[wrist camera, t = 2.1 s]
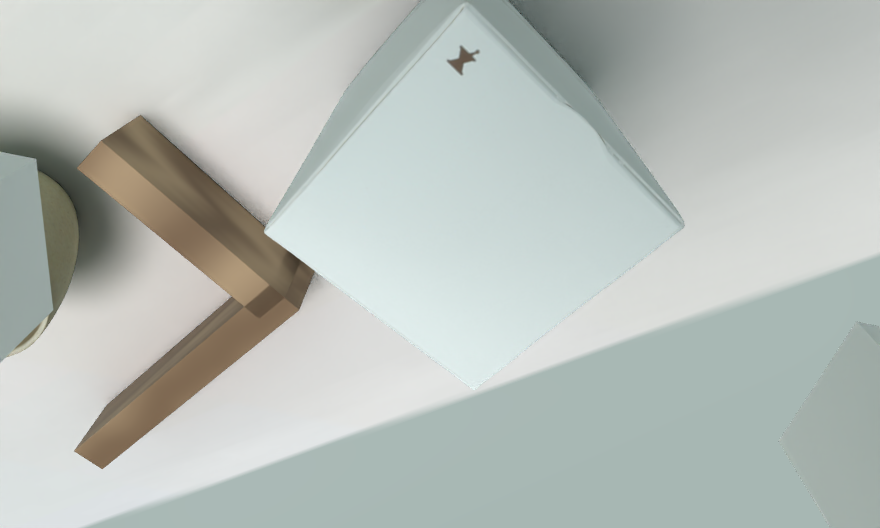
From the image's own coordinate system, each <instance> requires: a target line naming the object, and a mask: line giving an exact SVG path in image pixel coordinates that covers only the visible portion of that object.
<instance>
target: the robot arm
mask: <svg viewBox="0 0 880 528" xmlns="http://www.w3.org/2000/svg"><path fill="white" fill-rule="evenodd" d="M52 311H53V303H52V294H51V285H50V276H49V268H48V259H47V250H46V241H45V232H44V224H43V215H42V206H41V197H40V188H39V179H38V171H37V162H36V159H34V158H29V157H24V156H19V155H14V154H9V153H4V152H0V362H1V361H2V360H3V359H4V358H6V357H7V356H8V355H9V354H10V353H11V352H12V351H13V350H14V349H15V348H16V347H17V346H18V345H19V344H20V343H21V342H22V341H23V340H24V339H25V338H26V337H27V336H28V335H29V334H30V333H31V332H32V331H33V330H34V329H35V328H36V327H37V326H38V325H39V324H40V323H41V322H42V321H43V320H44V319H45V318H46V317H47V316H48V315H49V314H50V313H51V312H52ZM779 443H780V445H781V446H782V448H783V450H784V451H785V453H786V455H787V456H788V458H789V460H790V461H791V463H792V465H793V466H794V468H795V470H796V472H797V473H798V475H799V476H800V478H801V480H802V481H803V483H804V485H805V487H806V488H807V490H808V492H809V493H810V495H811V497H812V498H813V500H814V502H815V503H816V505H817V507H818V508H819V510H820V512H821V513H822V515H823V517H824V518H825V520H826V522H827V523H828V525H829V527H830V528H880V326H876V325H871V324H866V323H861V322H856V323H855V324H854V326H853V327H852V329H851V330H850V332H849V334H848V335H847V337H846V338H845V340H844V341H843V343H842V344H841V346H840V347H839V349H838V351H837V352H836V353H835V355H834V357H833V358H832V360H831V361H830V363H829V364H828V366H827V367H826V369H825V371H824V372H823V374H822V375H821V377H820V378H819V380H818V381H817V383H816V384H815V386H814V388H813V389H812V390H811V392H810V394H809V395H808V397H807V398H806V400H805V401H804V403H803V404H802V406H801V407H800V409H799V410H798V412H797V413H796V415H795V417H794V418H793V420H792V421H791V423H790V424H789V426H788V427H787V429H786V430H785V432H784V434H783V435H782V437H781V438H780V440H779Z"/></svg>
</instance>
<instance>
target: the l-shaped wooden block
mask: <svg viewBox="0 0 880 528" xmlns="http://www.w3.org/2000/svg"><path fill="white" fill-rule="evenodd" d="M77 169H78V170H79V171H81V172H82V173H83V174H84V175H85V176H87V177H88V178H89V179H90V180H92V181H93V182H94V183H95V184H96V185H98V186H99V187H100V188H101V189H102V190H104V191H105V192H106V193H107V194H108V195H110V196H111V197H112V198H113V199H115V200H116V201H117V202H118V203H119V204H121V205H122V206H123V207H124V208H125V209H127V210H128V211H129V212H130V213H131V214H133V215H134V216H135V217H136V218H138V219H139V220H140V221H141V222H142V223H144V224H145V225H146V226H147V227H148V228H150V229H151V230H152V231H153V232H155V233H156V234H157V235H158V236H159V237H161V238H162V239H163V240H164V241H165V242H167V243H168V244H169V245H170V246H171V247H173V248H174V249H175V250H176V251H178V252H179V253H180V254H181V255H182V256H184V257H185V258H186V259H187V260H188V261H190V262H191V263H192V264H193V265H195V266H196V267H197V268H198V269H199V270H201V271H202V272H203V273H204V274H205V275H207V276H208V277H209V278H210V279H211V280H213V281H214V282H215V283H216V284H218V285H219V286H220V287H221V288H222V289H224V290H225V291H226V292H227V293H228V294H230V295H231V296H232V297H231V298H230V299H229V300H228V301H227V302H225V303H224V304H223V305H222V306H221V307H220V308H218V309H217V310H216V311H215V312H214V313H213V314H212V315H210V316H209V317H208V318H207V319H206V320H205V321H203V322H202V323H201V324H200V325H199V326H198V327H196V328H195V329H194V330H193V331H192V332H191V333H190V334H188V335H187V336H186V337H185V338H184V339H183V340H181V341H180V342H179V343H178V344H177V345H176V346H175V347H173V348H172V349H171V350H170V351H169V352H168V353H166V354H165V355H164V356H163V357H162V358H161V359H160V360H158V361H157V362H156V363H155V364H154V365H153V366H151V367H150V368H149V369H148V370H147V371H146V372H145V373H143V374H142V375H141V376H140V377H139V378H138V379H136V380H135V381H134V382H133V383H132V384H131V385H130V386H128V387H127V388H126V389H125V390H124V391H123V392H121V393H120V394H119V395H118V396H117V397H116V398H115V399H113V400H112V401H111V402H110V403H109V404H108V405H106V407H105V408H104V410H103V411H102V412H101V414H100V415H99V417H98V418H97V419H96V421H95V422H94V424H93V425H92V427H91V428H90V429H89V431H88V432H87V434H86V435H85V436H84V438H83V439H82V441H81V442H80V443H79V445H78V446H77V448H76V449H75V450H74V451H75V452H76V453H78V454H79V455H81V456H82V457H84V458H86V459H87V460H89V461H90V462H92V463H93V464H95V465H97V466H98V467H100V468H101V469H103V468H104V467H106V466H107V465H108V464H109V463H111V462H112V461H113V460H114V459H116V458H117V457H118V456H119V455H120V454H122V453H123V452H124V451H125V450H127V449H128V448H129V447H130V446H132V445H133V444H134V443H135V442H137V441H138V440H139V439H140V438H142V437H143V436H144V435H145V434H146V433H148V432H149V431H150V430H151V429H153V428H154V427H155V426H156V425H158V424H159V423H160V422H161V421H163V420H164V419H165V418H166V417H167V416H169V415H170V414H171V413H172V412H174V411H175V410H176V409H177V408H179V407H180V406H181V405H182V404H184V403H185V402H186V401H187V400H189V399H190V398H191V397H192V396H193V395H195V394H196V393H197V392H198V391H200V390H201V389H202V388H203V387H205V386H206V385H207V384H208V383H210V382H211V381H212V380H213V379H214V378H216V377H217V376H218V375H219V374H221V373H222V372H223V371H224V370H226V369H227V368H228V367H229V366H231V365H232V364H233V363H234V362H236V361H237V360H238V359H239V358H240V357H242V356H243V355H244V354H245V353H247V352H248V351H249V350H250V349H252V348H253V347H254V346H255V345H257V344H258V343H259V342H260V341H261V340H263V339H264V338H265V337H266V336H268V335H269V334H270V333H271V332H273V331H274V330H275V329H276V328H278V327H279V326H280V325H281V324H283V323H284V322H285V321H286V320H287V319H289V318H290V317H291V316H292V315H294V314H295V313H296V312H297V311H299V309H300V306H301V304H302V301H303V299H304V296H305V294H306V291H307V289H308V286H309V284H310V281H311V279H312V276H313V274H314V270H312V269H311V268H310V267H309V266H308V265H306V264H305V263H304V262H302V261H301V260H300V259H298V258H297V257H296V256H295V255H293V254H292V253H291V252H289V251H288V250H286V249H285V248H284V247H282V246H281V245H280V244H278V243H277V242H275V241H274V240H273V239H271V238H270V237H269V236H267V235H266V234H264V229H265V227H264V226H263V225H262V224H261V223H260V222H259V221H258V220H257V219H256V218H254V217H253V216H252V215H251V214H250V213H249V212H248V211H247V210H246V209H244V208H243V207H242V206H241V205H240V204H239V203H238V202H237V201H235V200H234V199H233V198H232V197H231V196H230V195H229V194H228V193H227V192H225V191H224V190H223V189H222V188H221V187H220V186H219V185H218V184H216V183H215V182H214V181H213V180H212V179H211V178H210V177H209V176H208V175H206V174H205V173H204V172H203V171H202V170H201V169H200V168H199V167H198V166H196V165H195V164H194V163H193V162H192V161H191V160H190V159H189V158H187V157H186V156H185V155H184V154H183V153H182V152H181V151H180V150H179V149H177V148H176V147H175V146H174V145H173V144H172V143H171V142H170V141H168V140H167V139H166V138H165V137H164V136H163V135H162V134H161V133H160V132H158V131H157V130H156V129H155V128H154V127H153V126H152V125H151V124H150V123H148V122H147V121H146V120H145V119H144V118H143V117H142V116H141V115H140V116H138V117H137V118H135V119H134V120H132V121H131V122H129V123H128V124H126V125H124V126H123V127H121V128H120V129H118V130H117V131H115V132H114V133H112V134H111V135H109V136H108V137H106V138H104V139H103V140H101V141H100V143H99V144H98V145H97V146H96V147H95V148H94V149H93V150H92V152H91V153H90V154H89V155H88V156H87V157H86V158H85V159H84V161H83V162H82V163H81V164H80V165H79V166H78V167H77Z"/></svg>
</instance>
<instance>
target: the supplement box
mask: <svg viewBox="0 0 880 528" xmlns="http://www.w3.org/2000/svg"><path fill="white" fill-rule="evenodd" d="M684 226H685V225H684V221H683V219H682V218H681V216H680V214H679V213H678V211H677V210H676V208H675V207H674V205H673V204H672V202H671V201H670V199H669V198H668V196H667V195H666V194H665V192H664V191H663V190H662V188H661V187H660V185H659V184H658V183H657V181H656V180H655V178H654V177H653V176H652V174H651V173H650V171H649V170H648V169H647V167H646V166H645V164H644V163H643V162H642V160H641V159H640V158H639V156H638V155H637V153H636V152H635V151H634V149H633V148H632V147H631V145H630V144H629V142H628V141H627V140H626V138H625V137H624V135H623V134H622V133H621V131H620V130H619V129H618V127H617V126H616V124H615V123H614V122H613V120H612V119H611V117H610V116H609V115H608V113H607V112H606V110H605V109H604V108H603V106H602V105H601V104H600V102H599V101H598V99H597V98H596V96H595V95H594V94H593V92H592V91H591V90H590V88H589V87H588V86H587V84H586V83H585V82H584V81H583V80H582V79H581V78H580V77H579V76H578V75H577V74H576V73H575V71H574V70H573V69H572V68H571V67H570V66H569V65H568V64H567V63H566V62H565V61H564V60H563V59H562V58H561V57H560V56H559V54H558V53H557V52H556V51H555V50H554V49H553V48H552V47H551V46H550V45H549V44H548V43H547V42H546V41H545V40H544V38H543V37H542V36H541V35H540V34H539V33H538V32H537V31H536V30H535V29H534V28H533V27H532V26H531V25H530V24H529V23H528V21H527V20H526V19H525V18H524V17H523V16H522V15H521V14H520V13H519V12H518V11H517V10H516V9H515V8H514V7H513V5H512V4H511V3H510V2H509V1H508V0H421V1H420V2H419V3H418V5H417V6H416V7H415V8H414V9H413V10H412V11H411V13H410V14H409V15H408V16H407V17H406V18H405V19H404V21H403V22H402V23H401V24H400V25H399V26H398V28H397V29H396V30H395V31H394V32H393V33H392V35H391V36H390V37H389V38H388V39H387V40H386V42H385V43H384V44H383V45H382V46H381V47H380V49H379V50H378V51H377V52H376V53H375V55H374V56H373V57H372V58H371V59H370V60H369V62H368V63H367V64H366V65H365V66H364V68H363V69H362V70H361V71H360V73H359V74H358V75H357V77H356V78H355V79H354V80H353V82H352V83H351V84H350V85H349V87H348V88H347V90H346V91H345V93H344V94H343V96H342V97H341V99H340V101H339V103H338V104H337V106H336V108H335V109H334V111H333V113H332V114H331V116H330V118H329V120H328V121H327V123H326V125H325V126H324V128H323V130H322V132H321V133H320V135H319V137H318V139H317V140H316V142H315V144H314V146H313V147H312V149H311V151H310V153H309V154H308V156H307V158H306V159H305V161H304V163H303V165H302V166H301V168H300V170H299V171H298V173H297V175H296V176H295V178H294V180H293V182H292V183H291V185H290V187H289V188H288V190H287V192H286V193H285V195H284V197H283V198H282V200H281V202H280V203H279V205H278V207H277V208H276V210H275V212H274V213H273V215H272V217H271V219H270V220H269V222H268V224H267V226H266V227H265V229H264V234H266V235H267V236H269V237H270V238H271V239H273V240H274V241H275V242H277V243H278V244H280V245H281V246H282V247H284V248H285V249H286V250H288V251H289V252H291V253H292V254H293V255H295V256H296V257H297V258H298V259H300V260H301V261H302V262H304V263H305V264H306V265H308V266H309V267H310V268H312V269H313V270H314V271H316V272H317V273H318V274H320V275H321V276H322V277H324V278H325V279H326V280H328V281H329V282H330V283H332V284H333V285H334V286H336V287H337V288H338V289H339V290H341V291H342V292H343V293H345V294H346V295H347V296H349V297H350V298H351V299H353V300H354V301H355V302H357V303H358V304H359V305H361V306H362V307H363V308H365V309H366V310H367V311H369V312H370V313H371V314H373V315H374V316H375V317H377V318H378V319H379V320H381V321H382V322H383V323H385V324H386V325H387V326H389V327H390V328H391V329H393V330H394V331H395V332H396V333H398V334H399V335H400V336H402V337H403V338H404V339H406V340H407V341H408V342H410V343H411V344H412V345H414V346H415V347H416V348H418V349H419V350H420V351H422V352H423V353H425V354H426V355H427V356H429V357H430V358H431V359H433V360H434V361H435V362H437V363H438V364H439V365H441V366H442V367H443V368H445V369H446V370H447V371H449V372H450V373H451V374H453V375H454V376H455V377H457V378H458V379H459V380H460V381H462V382H463V383H464V384H466V385H467V386H468V387H469V388H471V389H472V390H476V389H477V388H478V387H479V386H480V385H481V384H482V383H484V382H485V381H486V380H488V379H489V378H490V377H492V376H493V375H494V374H496V373H497V372H498V371H500V370H501V369H503V368H504V367H505V366H506V365H508V364H509V363H510V362H511V361H512V360H514V359H515V358H516V357H518V356H519V355H520V354H521V353H522V352H524V351H525V350H526V349H528V348H529V347H530V346H531V345H532V344H534V343H535V342H536V341H537V340H538V339H540V338H541V337H542V336H543V335H545V334H546V333H547V332H549V331H550V330H551V329H553V328H554V327H555V326H557V325H558V324H559V323H560V322H562V321H563V320H564V319H565V318H567V317H568V316H569V315H570V314H572V313H573V312H574V311H576V310H577V309H578V308H580V307H581V306H582V305H584V304H585V303H586V302H588V301H589V300H590V299H592V298H593V297H594V296H595V295H597V294H598V293H599V292H601V291H602V290H603V289H605V288H606V287H607V286H609V285H610V284H611V283H613V282H614V281H615V280H617V279H618V278H619V277H621V276H622V275H623V274H625V273H626V272H627V271H628V270H630V269H631V268H632V267H634V266H635V265H636V264H637V263H639V262H640V261H641V260H643V259H644V258H645V257H647V256H648V255H649V254H650V253H652V252H653V251H654V250H655V249H657V248H658V247H659V246H660V245H662V244H663V243H664V242H665V241H667V240H668V239H669V238H670V237H672V236H673V235H675V234H676V233H677V232H679V231H680V230H681V229H683V228H684Z"/></svg>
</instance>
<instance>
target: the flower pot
mask: <svg viewBox="0 0 880 528" xmlns="http://www.w3.org/2000/svg"><path fill="white" fill-rule="evenodd" d="M37 171H38V170H37ZM38 179H39V188H40V197H41V206H42V215H43V224H44V232H45V241H46V250H47V259H48V268H49V276H50V285H51V294H52V303H53V311H52V312H51V313H50V314H49V315H48V316H47V317H46V318H45V319H44V320H43V321H42V322H41V323H40V324H39V325H38V326H37V327H36V328H35V329H34V330H33V331H32V332H31V333H30V334H29V335H28V336H27V337H26V338H25V339H24V340H23V341H22V342H21V343H20V344H19V345H18V346H17V347H16V348H15V349H14V350H13V351H12V352H11V353H10V354H9V355H8V356H7V357H9V356H12V355H14V354H17V353H19V352H21V351H23V350H25V349H26V348H28V347H29V346H30V345H32V344H33V343H34V342H35V341H36V340H37V339H38V338H39V336H40V335H41V334H42V333H43V331H44V330H45V329H46V327H47V326H48V324H49V323H50V321H51V320H52V318H53V317H54V315H55V314H56V312H57V310H58V308H59V306H60V305H61V303H62V301H63V299H64V296H65V294H66V292H67V289H68V287H69V284H70V282H71V279H72V275H73V272H74V269H75V264H76V259H77V253H78V244H79V229H78V220H77V215H76V211H75V208H74V205H73V203H72V201H71V199H70V197H69V196H68V195H67V193H66V192H65V191H64V189H63V188H62V187H61V186H60V185H59V184H58V183H57V182H55V181H54V180H53V179H52V178H50V177H49V176H47V175H46V174H44V173H42V172H40V171H38Z"/></svg>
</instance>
